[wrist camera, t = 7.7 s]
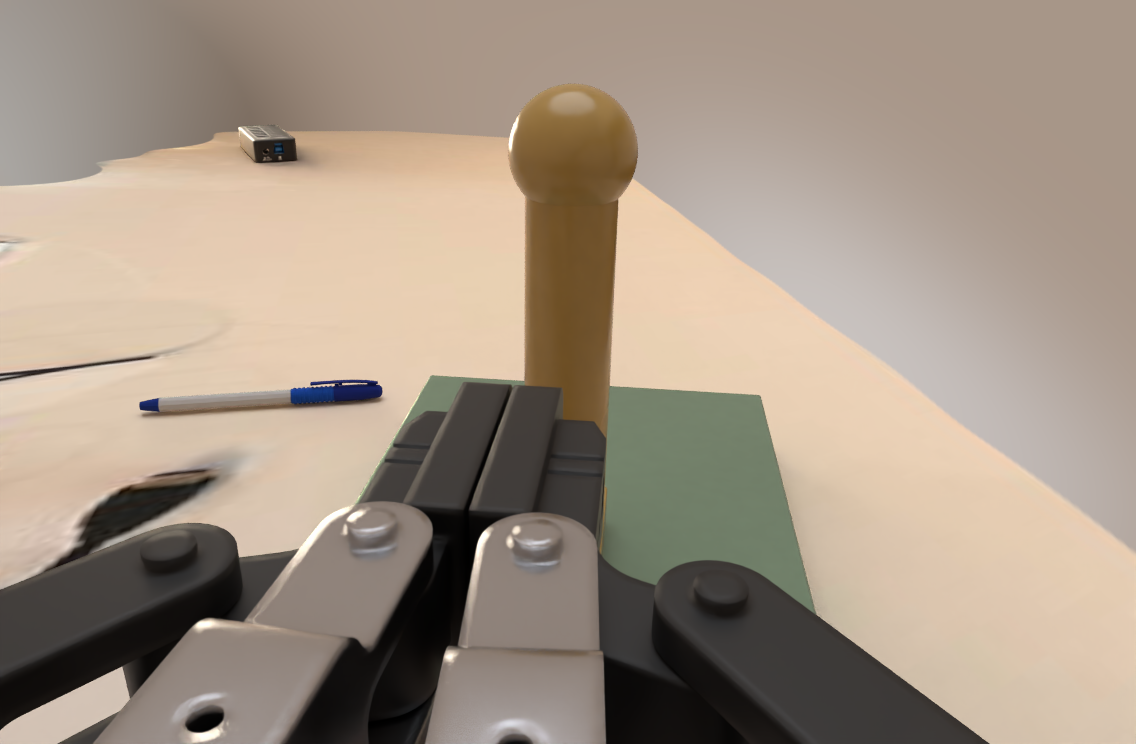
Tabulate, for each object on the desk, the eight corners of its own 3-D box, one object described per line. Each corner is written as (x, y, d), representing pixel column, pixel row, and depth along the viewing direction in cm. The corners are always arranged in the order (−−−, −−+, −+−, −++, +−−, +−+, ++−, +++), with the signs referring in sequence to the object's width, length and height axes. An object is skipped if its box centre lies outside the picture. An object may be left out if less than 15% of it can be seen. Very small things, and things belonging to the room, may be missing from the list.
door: (754, 447, 37) (767, 340, 35) (870, 994, 17) (917, 815, 15) (432, 426, 38) (427, 321, 36) (178, 917, 18) (136, 741, 16)
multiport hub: (279, 144, 104) (277, 124, 103) (298, 160, 95) (295, 138, 94) (240, 146, 102) (237, 126, 101) (255, 162, 93) (253, 140, 92)
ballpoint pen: (382, 392, 41) (381, 373, 41) (383, 400, 40) (381, 381, 40) (143, 410, 39) (139, 390, 39) (139, 419, 38) (135, 399, 38)
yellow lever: (618, 520, 27) (643, 75, 22) (595, 829, 17) (631, 146, 12) (523, 513, 27) (525, 71, 22) (446, 814, 17) (415, 138, 12)
